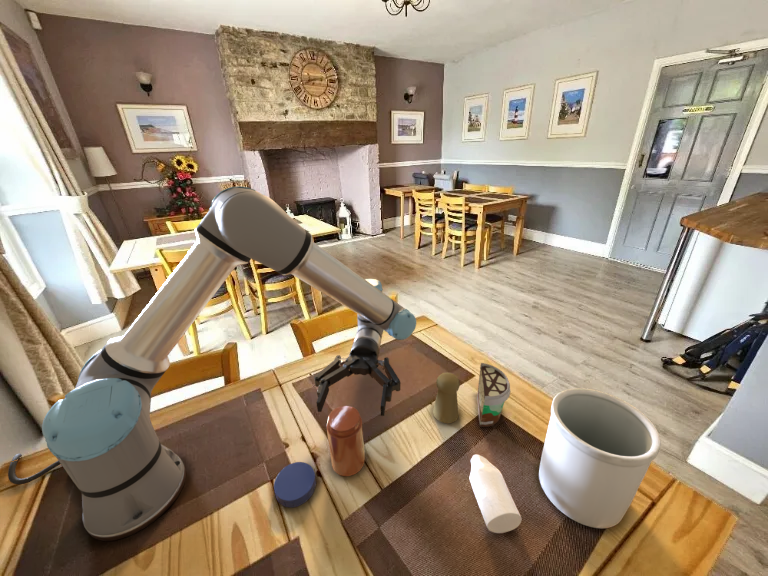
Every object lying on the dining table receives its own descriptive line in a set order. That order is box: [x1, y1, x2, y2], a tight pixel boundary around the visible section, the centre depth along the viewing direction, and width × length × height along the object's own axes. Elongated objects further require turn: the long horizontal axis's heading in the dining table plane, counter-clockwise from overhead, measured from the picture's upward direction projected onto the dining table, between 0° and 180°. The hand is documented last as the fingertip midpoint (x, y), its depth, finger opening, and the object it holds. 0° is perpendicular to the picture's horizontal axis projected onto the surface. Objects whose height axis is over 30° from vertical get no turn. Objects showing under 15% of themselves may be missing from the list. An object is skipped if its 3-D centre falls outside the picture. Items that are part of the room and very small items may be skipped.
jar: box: [326, 405, 366, 477], centre depth 61 cm, size 7×7×12 cm
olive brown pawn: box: [432, 371, 461, 424], centre depth 72 cm, size 6×6×11 cm
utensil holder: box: [538, 387, 662, 529], centre depth 54 cm, size 15×15×18 cm
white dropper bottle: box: [468, 453, 523, 534], centre depth 56 cm, size 6×12×6 cm, turn 6°
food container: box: [476, 362, 511, 428], centre depth 72 cm, size 12×6×10 cm, turn 168°
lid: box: [273, 461, 317, 508], centre depth 59 cm, size 8×8×2 cm
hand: (350, 409), depth 65 cm, fingers open, 13 cm apart
